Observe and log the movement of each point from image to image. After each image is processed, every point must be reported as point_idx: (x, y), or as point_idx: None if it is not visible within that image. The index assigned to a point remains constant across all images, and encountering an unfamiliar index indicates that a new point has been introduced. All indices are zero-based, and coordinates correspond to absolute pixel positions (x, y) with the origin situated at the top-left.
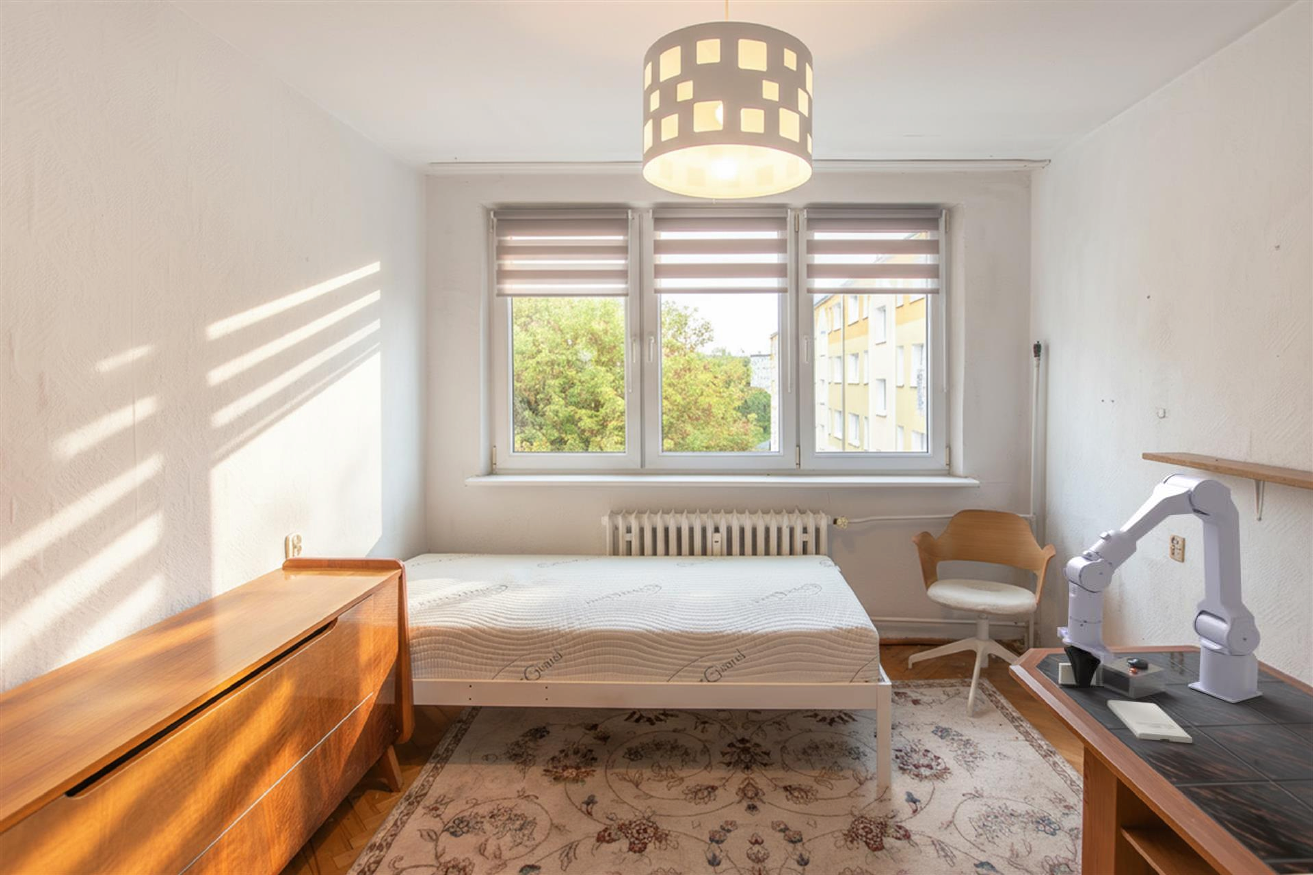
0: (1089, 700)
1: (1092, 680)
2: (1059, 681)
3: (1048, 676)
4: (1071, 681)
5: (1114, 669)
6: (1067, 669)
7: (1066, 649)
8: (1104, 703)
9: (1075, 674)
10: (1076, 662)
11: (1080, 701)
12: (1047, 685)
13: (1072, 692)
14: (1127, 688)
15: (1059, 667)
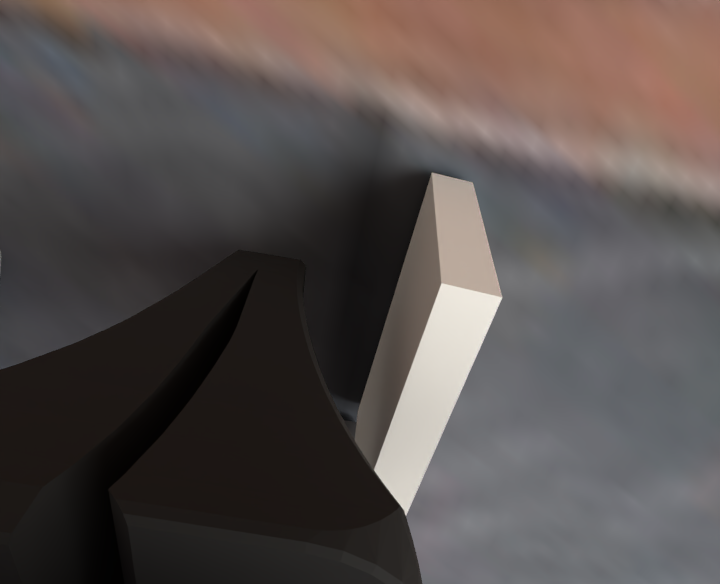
0: (79, 176)
1: (356, 429)
2: (455, 182)
3: (640, 197)
4: (401, 279)
5: None
6: (415, 316)
7: (231, 530)
8: (33, 252)
9: (253, 294)
10: (82, 383)
11: (46, 71)
12: (456, 3)
13: (251, 151)
14: None
15: (482, 261)
